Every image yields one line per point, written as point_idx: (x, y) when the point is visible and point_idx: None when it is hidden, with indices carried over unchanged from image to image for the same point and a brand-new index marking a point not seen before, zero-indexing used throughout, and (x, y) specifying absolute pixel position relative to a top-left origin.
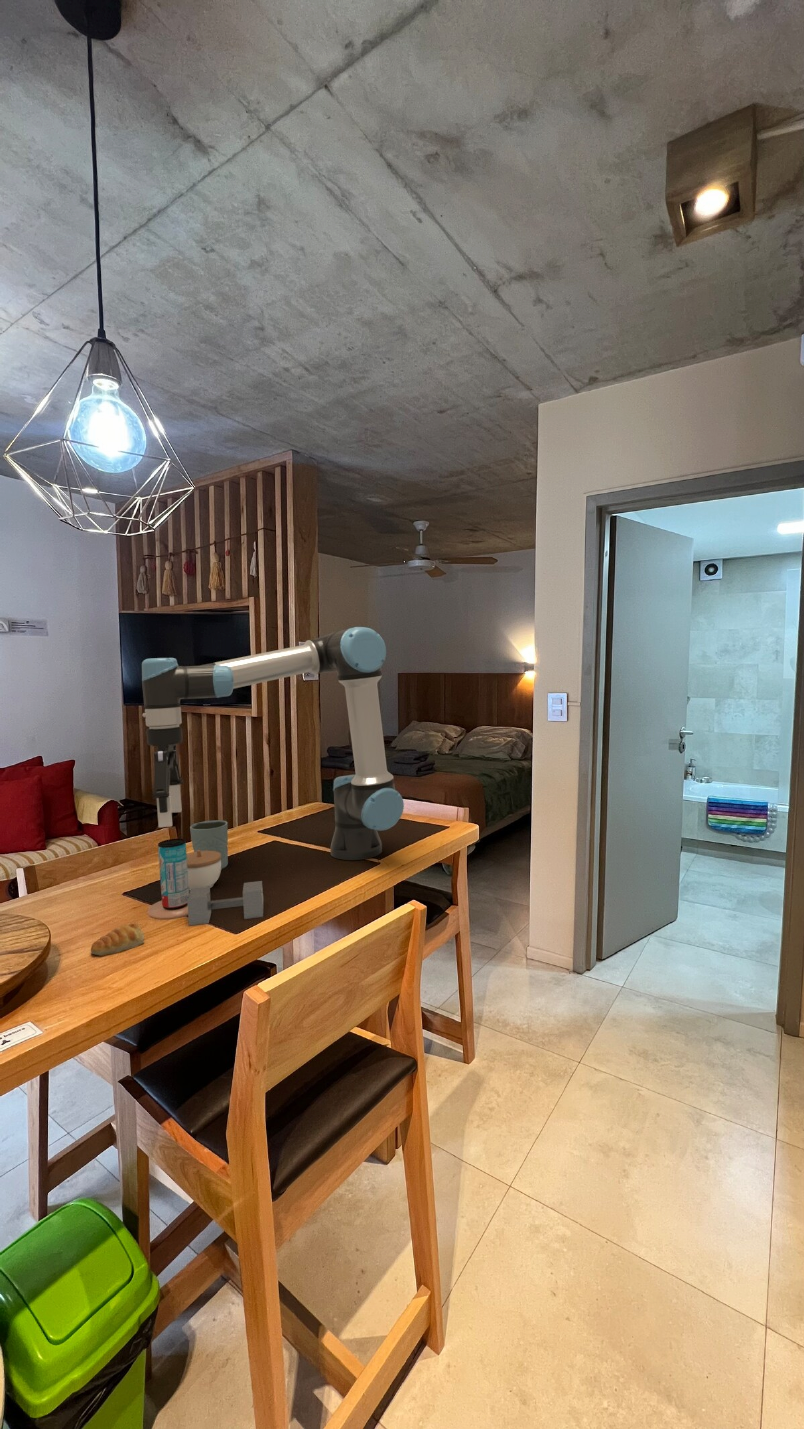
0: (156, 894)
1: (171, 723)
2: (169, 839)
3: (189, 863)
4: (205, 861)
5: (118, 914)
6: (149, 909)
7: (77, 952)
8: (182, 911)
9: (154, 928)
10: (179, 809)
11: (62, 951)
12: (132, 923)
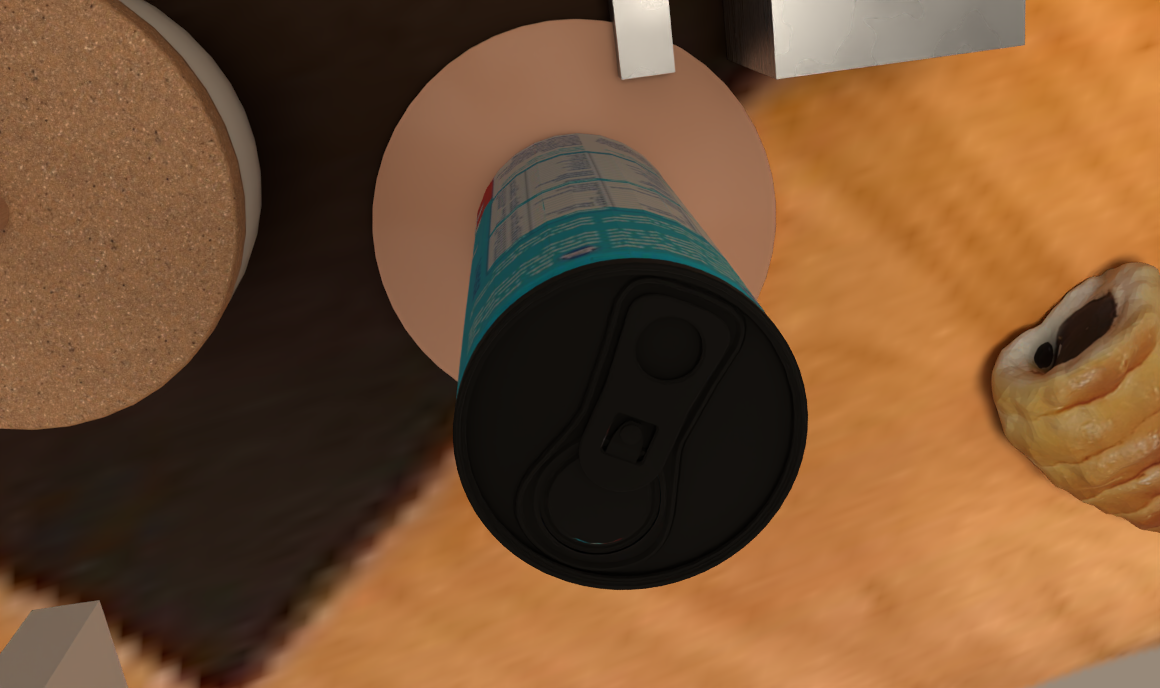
0: (264, 461)
1: None
2: (481, 509)
3: (222, 253)
4: (166, 88)
5: None
6: None
7: (1115, 588)
8: (702, 145)
9: (904, 269)
10: (86, 663)
11: (1075, 667)
12: (1071, 387)
